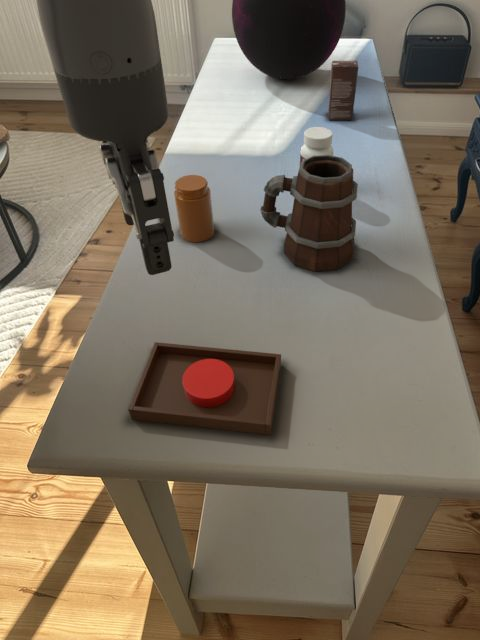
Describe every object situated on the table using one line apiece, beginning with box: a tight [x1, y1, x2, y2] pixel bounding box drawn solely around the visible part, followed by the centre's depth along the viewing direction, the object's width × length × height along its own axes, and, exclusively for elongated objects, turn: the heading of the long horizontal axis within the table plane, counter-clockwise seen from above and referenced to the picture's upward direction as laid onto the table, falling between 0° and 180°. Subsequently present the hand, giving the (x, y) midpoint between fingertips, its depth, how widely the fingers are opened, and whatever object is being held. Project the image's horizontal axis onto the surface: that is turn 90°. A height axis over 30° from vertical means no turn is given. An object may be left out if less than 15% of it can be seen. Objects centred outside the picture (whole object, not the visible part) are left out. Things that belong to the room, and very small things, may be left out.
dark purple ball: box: [231, 0, 347, 80], centre depth 128 cm, size 30×30×30 cm
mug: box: [259, 155, 359, 272], centre depth 77 cm, size 16×12×15 cm
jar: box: [173, 174, 215, 243], centre depth 83 cm, size 6×6×10 cm
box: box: [327, 60, 359, 121], centre depth 115 cm, size 6×4×12 cm
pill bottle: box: [299, 126, 334, 166], centre depth 92 cm, size 6×6×11 cm
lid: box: [183, 359, 235, 407], centre depth 61 cm, size 6×6×2 cm
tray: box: [127, 341, 282, 436], centre depth 61 cm, size 17×11×2 cm, turn 82°
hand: (147, 244), depth 46 cm, fingers open, 8 cm apart
